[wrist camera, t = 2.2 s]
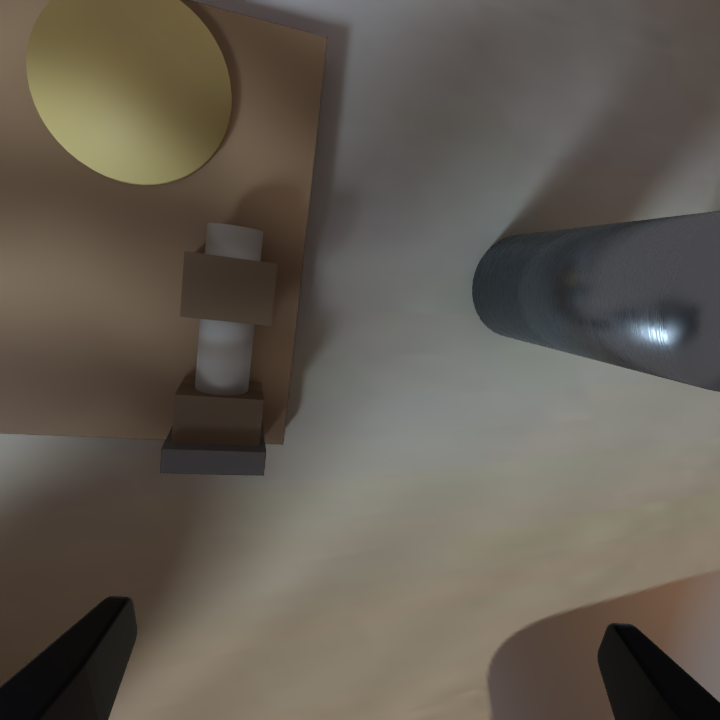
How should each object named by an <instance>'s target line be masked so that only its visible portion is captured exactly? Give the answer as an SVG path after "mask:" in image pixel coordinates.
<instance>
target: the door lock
mask: <svg viewBox="0 0 720 720" xmlns="http://www.w3.org/2000/svg"><path fill="white" fill-rule="evenodd" d="M327 38H328V37H324V36H320V35H317V34H313V33H309V32H305V31H302V30H298V29H294V28H291V27H287V26H283V25H279V24H276V23H272V22H268V21H264V20H261V19H257V18H253V17H250V16H246V15H242V14H238V13H235V12H231V11H227V10H224V9H220V8H216V7H212V6H209V5H205V4H201V3H197V2H194V1H190V0H0V433H4V434H29V435H55V436H80V437H105V438H131V439H156V440H165V443H164V445H163V447H162V450H161V465H160V473H172V474H217V475H262V476H264V468H265V459H266V447H265V444H283V442H284V432H285V423H286V414H287V405H288V396H289V387H290V377H291V368H292V359H293V350H294V341H295V332H296V322H297V313H298V304H299V295H300V286H301V276H302V267H303V258H304V249H305V240H306V231H307V221H308V212H309V203H310V194H311V185H312V176H313V166H314V157H315V148H316V139H317V130H318V121H319V111H320V102H321V93H322V84H323V75H324V66H325V56H326V47H327Z"/></svg>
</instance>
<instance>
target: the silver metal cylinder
mask: <svg viewBox="0 0 720 720" xmlns="http://www.w3.org/2000/svg"><path fill="white" fill-rule="evenodd" d="M472 295H473V302H474V306H475V309H476V311H477V314H478V315H479V317H480V319H481V320H482V322H483V323H484V324H485V325H486V326H487V327H488V328H489V329H491V330H492V331H493V332H495V333H497V334H499V335H502V336H506V337H510V338H513V339H517V340H521V341H525V342H529V343H532V344H536V345H540V346H544V347H548V348H552V349H555V350H559V351H563V352H567V353H571V354H574V355H578V356H582V357H586V358H590V359H594V360H597V361H601V362H605V363H609V364H613V365H616V366H620V367H624V368H628V369H632V370H636V371H639V372H643V373H647V374H651V375H655V376H658V377H662V378H666V379H670V380H674V381H678V382H681V383H685V384H689V385H693V386H697V387H700V388H704V389H708V390H713V391H718V392H720V211H715V212H707V213H698V214H690V215H682V216H674V217H665V218H657V219H649V220H640V221H632V222H624V223H616V224H607V225H599V226H591V227H582V228H574V229H566V230H558V231H549V232H541V233H533V234H524V235H516V236H511V237H508V238H505V239H503V240H501V241H499V242H498V243H496V244H495V245H493V246H492V247H491V248H490V249H489V250H488V251H487V252H486V253H485V255H484V256H483V257H482V259H481V261H480V262H479V264H478V266H477V269H476V272H475V275H474V279H473V286H472Z"/></svg>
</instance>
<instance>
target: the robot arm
mask: <svg viewBox="0 0 720 720" xmlns="http://www.w3.org/2000/svg"><path fill="white" fill-rule="evenodd" d="M136 636H137V623H136V617H135V611H134V605H133V601H132V599H131V598H130V597H119V596H111V597H108V598H106V599H104V600H103V601H102V602H101V603H99V604H98V605H97V606H96V607H95V608H94V609H92V610H91V611H90V612H89V613H88V614H86V615H85V616H84V617H83V618H82V619H80V620H79V621H78V622H77V623H76V624H75V625H73V626H72V627H71V628H70V629H69V630H67V631H66V632H65V633H64V634H63V635H61V636H60V637H59V638H58V639H57V640H56V641H54V642H53V643H52V644H51V645H50V646H48V647H47V648H46V649H45V650H44V651H42V652H41V653H40V654H39V655H38V656H37V657H35V658H34V659H33V660H32V661H31V662H29V663H28V664H27V665H26V666H25V667H23V668H22V669H21V670H20V671H19V672H18V673H16V674H15V675H14V676H13V677H12V678H10V679H9V680H8V681H7V682H6V683H4V684H3V685H2V686H1V687H0V720H108V719H109V716H110V713H111V710H112V707H113V704H114V701H115V698H116V695H117V693H118V690H119V687H120V684H121V681H122V678H123V675H124V672H125V669H126V667H127V664H128V661H129V658H130V655H131V652H132V649H133V646H134V643H135V640H136ZM598 664H599V668H600V671H601V675H602V678H603V682H604V685H605V688H606V691H607V695H608V698H609V701H610V705H611V708H612V711H613V715H614V718H615V720H720V702H719V701H717V700H716V699H715V698H714V697H713V696H712V695H711V694H710V693H709V692H707V691H706V690H705V689H704V688H703V687H702V686H701V685H700V684H699V683H698V682H696V681H695V680H694V679H693V678H692V677H691V676H690V675H689V674H687V673H686V672H685V671H684V670H683V669H682V668H681V667H680V666H679V665H678V664H676V663H675V662H674V661H673V660H672V659H671V658H670V657H669V656H668V655H666V654H665V653H664V652H663V651H662V650H661V649H660V648H659V647H658V646H657V645H655V644H654V643H653V642H652V641H651V640H650V639H649V638H648V637H647V636H645V635H644V634H643V633H642V632H641V631H640V630H639V629H638V628H636V627H635V626H633V625H631V624H624V623H611V624H609V625H608V626H607V628H606V631H605V634H604V636H603V639H602V642H601V644H600V647H599V650H598Z"/></svg>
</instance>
